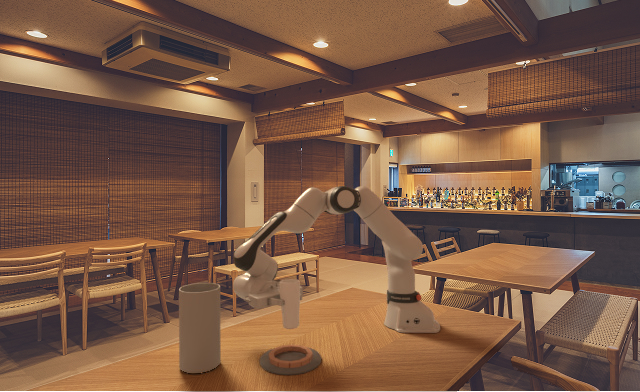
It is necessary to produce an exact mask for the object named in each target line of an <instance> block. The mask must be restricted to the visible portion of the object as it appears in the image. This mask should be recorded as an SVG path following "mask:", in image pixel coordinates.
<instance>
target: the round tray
mask: <svg viewBox="0 0 640 392" xmlns="http://www.w3.org/2000/svg"><path fill="white" fill-rule="evenodd" d="M321 363H322V355H321V354H320V352H319V351H317V350H315V349H313V348H311V347H308V346H304V345H301V344H285V345H280V346H277V347H274V348H271V349H268V350H267V351H265V352H264V353H262V354H261V356H260V358H259V365H260V367H261V368H262V369H263V370H265V371H266V372H269V373H270V374H274V375H279V376H280V375H281V376H296V375H302V374H303V375H304V374H307V373H309V372H311V371H314V370H315V369H317V368H318V367H319V366H320V365H321Z"/></svg>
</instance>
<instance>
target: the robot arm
mask: <svg viewBox="0 0 640 392" xmlns="http://www.w3.org/2000/svg"><path fill="white" fill-rule="evenodd" d="M352 211H354V212H355V213H356V214H358V216H359V217H360V218H361V220H362V221H363V222H364V223H365V224H366V225H367V227H368V228H369V230H371V232H372V233H373V234H374V235H376V236H377V237H378V238H379V239H380V240H381V244H382V246H383V251H384V256H385V264H386V267H387V290H386V307H387V308H386V315H385V318H384V319H385V320H384V322H383V325H384V326H385V327H387V328H389V329H392V330H395V331H397V332H398V333H405V334H407V333H408V334H409V333H410V334H411V333H412V334H413V333H414V334H416V333H417V334H419V333H420V334H421V333H422V334H424V333H425V334H426V333H429V334H437V333H439V332H440V331H441V325H440V323H439V321H437V320H436V319H435V315H434V312H433V310H432V309H431V308H430V307H428V306H427V305H426V304H425V303H424V302H423V301H422V295H421V293H420V291H416V273H415V269H414V267H413V264H412V261H413V260H417V259H418V258H420V256H422V253H423V251H424V250H423V249H424V245H423V242H422V241H421V240H420V238H419V237H418V236H417V235H415V233H414V232H412V230H410V229H409V228H408V227H407V225H405V224H404V223H403V222H402V221H401V220H400V219H398V218H397V216H395V214H393V212H392V211H391V210H390V209H389V208H388V206H387V205H386V204H385V203H384V202H383V201H382V200H381V198H380V197H379V196H378V195H377V194H375V192H374V191H372V189H370V188H369V187H367V186H365V185H361V186H357V187H355V188H352V187H350V186H346V185H340V186H334V187H332V188H330V189H327V190H325V191H322V190H321V189H319V188H318V187H313V186H311V187H308V188H307V189H306V190H304V192H303V193H302V194H300V196H299V197H297V199H295V201H294V203H292V205H290V207H288V209H286V210H284V211H279V212H276V213H275V214H273V216H271V217H270V218H269V219H268V220H267V221H266V222H265V223H263V224H262V226H260V227H259V228H258V229H257V230H256V231H255V232H254V233H253V234H252V235H251V236H250V237H249V238H248V239H246V240H245V241H244V242H242V243H241V244H240V245H239V246H237V247H236V248H235V250H234V252H233V264H234V266H235V267H236V268H238V269H240V270H241V271H243V272H245V273H243V274H241V275H238V276H236V277H235V278H234V280H233V283H232V288H233V291H234V293H235V295H236V296H237V297H239V298H241V299H243V301H244V302H246V303H248V305H249V306H251V308H254V309H257V310H262V309H265V308H269V307H273V306H278V307H281V306H283V305H285V300H283V299H280V292H279V282H280V281H281V280H282V279H277V280H276V276H278V275H277V274H278V272H279V264H278V262H277V261H276V259H274V258H273V257H271V256H270V255H269V254H267V253H266V252H264V251H263V250H262V247H263V246H264V245H265V244H266V243H267V242H268V241H270V240H271V238H272V237H273V236H274V235H275V234H277V233H278V232H279V233H280V232H282V231H284V232H289V233H293V234H303V233H306V232H307V231H309V230H310V229H311V228H312V226H313V225H314V224H315V223H316V220H317V219H318V218H319V217H320V215H321V214H322V213H323V212H324V213H326V214H329V215H344V214H347V213H350V212H352ZM303 296H304V288H303V286H302V285H300V301H303Z"/></svg>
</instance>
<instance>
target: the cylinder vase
mask: <svg viewBox="0 0 640 392" xmlns="http://www.w3.org/2000/svg"><path fill="white" fill-rule="evenodd" d="M178 320H179V321H178V331H179V332H178V333H179V334H178V339H179V341H178V342H179V343H178V344H179V345H178V347H179V348H178V349H179V352H178V353H179V358H178V359H179V360H178V363H179V366H178V367H179V370H180V371H181V370H182V372H183V371H184V372H187V373H186V374H188V373H201V372H206V371H209V372H211V371H210V370H212V369H214V368H215V369H216V367H217V366H218V365H219V366H220V364H221V361H222V360H221V359H222V358H221V354H222V353H221V352H222V351H221V350H222V349H221V285H220V284H219V283H214V282H197V283H191V284H187V285H186V284H185V285H183V286H181V287H179V289H178ZM219 366H218V367H219ZM218 367H217V368H218ZM215 369H214V370H215ZM212 371H213V370H212ZM184 372H183V373H184ZM206 373H207V372H206ZM201 374H202V373H201Z"/></svg>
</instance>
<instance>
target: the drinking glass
mask: <svg viewBox="0 0 640 392" xmlns="http://www.w3.org/2000/svg"><path fill="white" fill-rule="evenodd" d="M280 280H281V281H280V282H279V292H280V299H283V300H285V305H283V306H280V308H281V317H282V327H283V328H284V329H286V330H293V329H297V328H298V327H299V326H300V306H301V305H300V304H301V300H300V286H301V284H300V280H299V279H296V278H287V279H280Z"/></svg>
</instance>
